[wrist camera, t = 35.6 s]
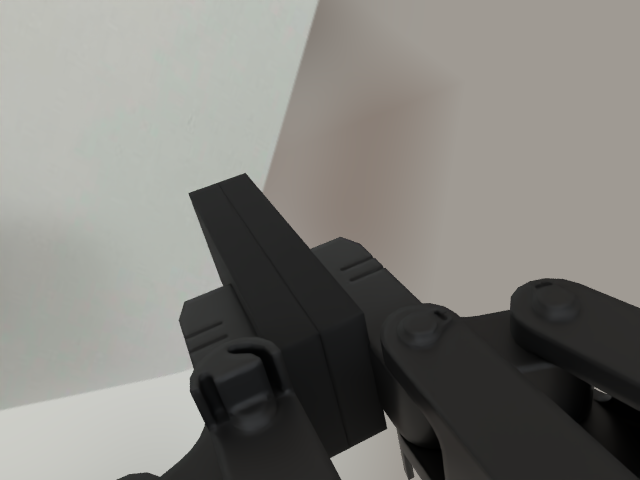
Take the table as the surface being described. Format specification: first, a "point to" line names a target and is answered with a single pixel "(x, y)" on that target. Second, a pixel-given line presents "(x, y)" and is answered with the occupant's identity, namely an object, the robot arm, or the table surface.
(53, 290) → the table surface
